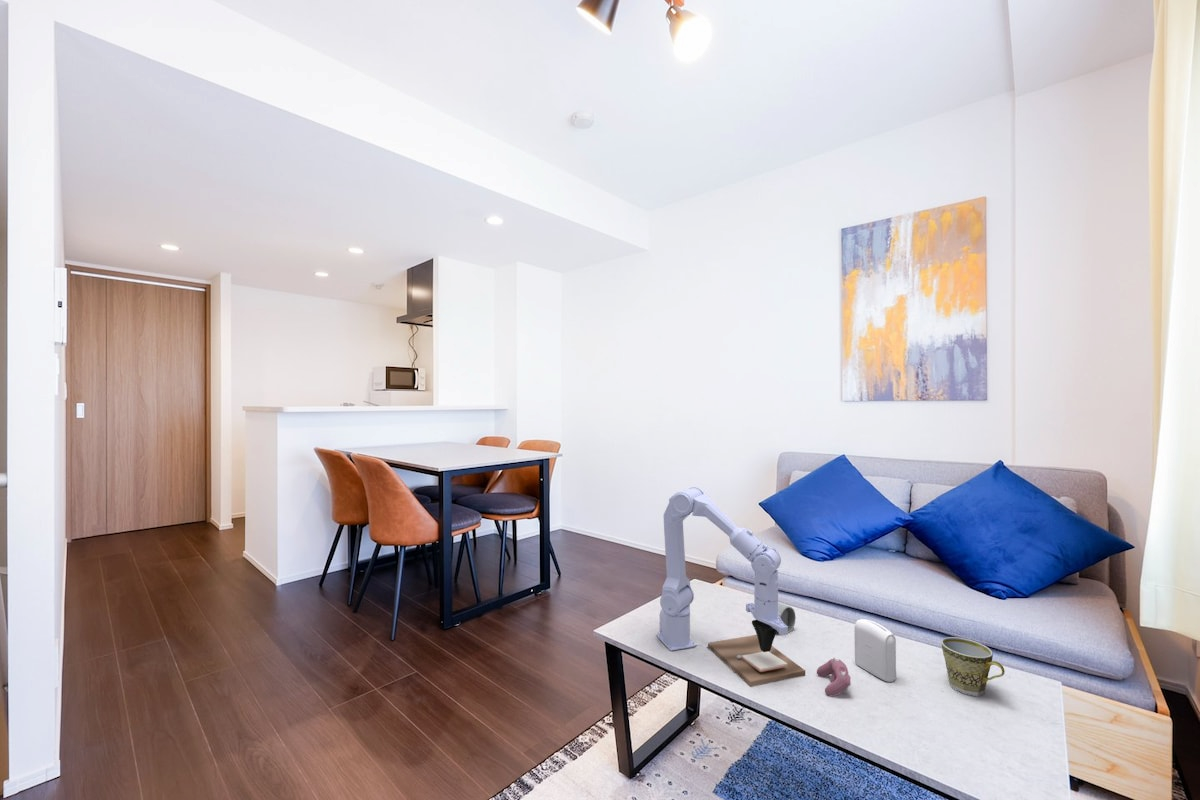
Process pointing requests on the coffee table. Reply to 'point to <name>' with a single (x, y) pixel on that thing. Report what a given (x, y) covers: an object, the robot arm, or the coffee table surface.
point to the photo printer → (875, 649)
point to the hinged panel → (763, 661)
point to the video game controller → (835, 676)
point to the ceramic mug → (787, 615)
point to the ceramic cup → (968, 665)
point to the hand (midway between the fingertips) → (765, 650)
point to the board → (748, 673)
